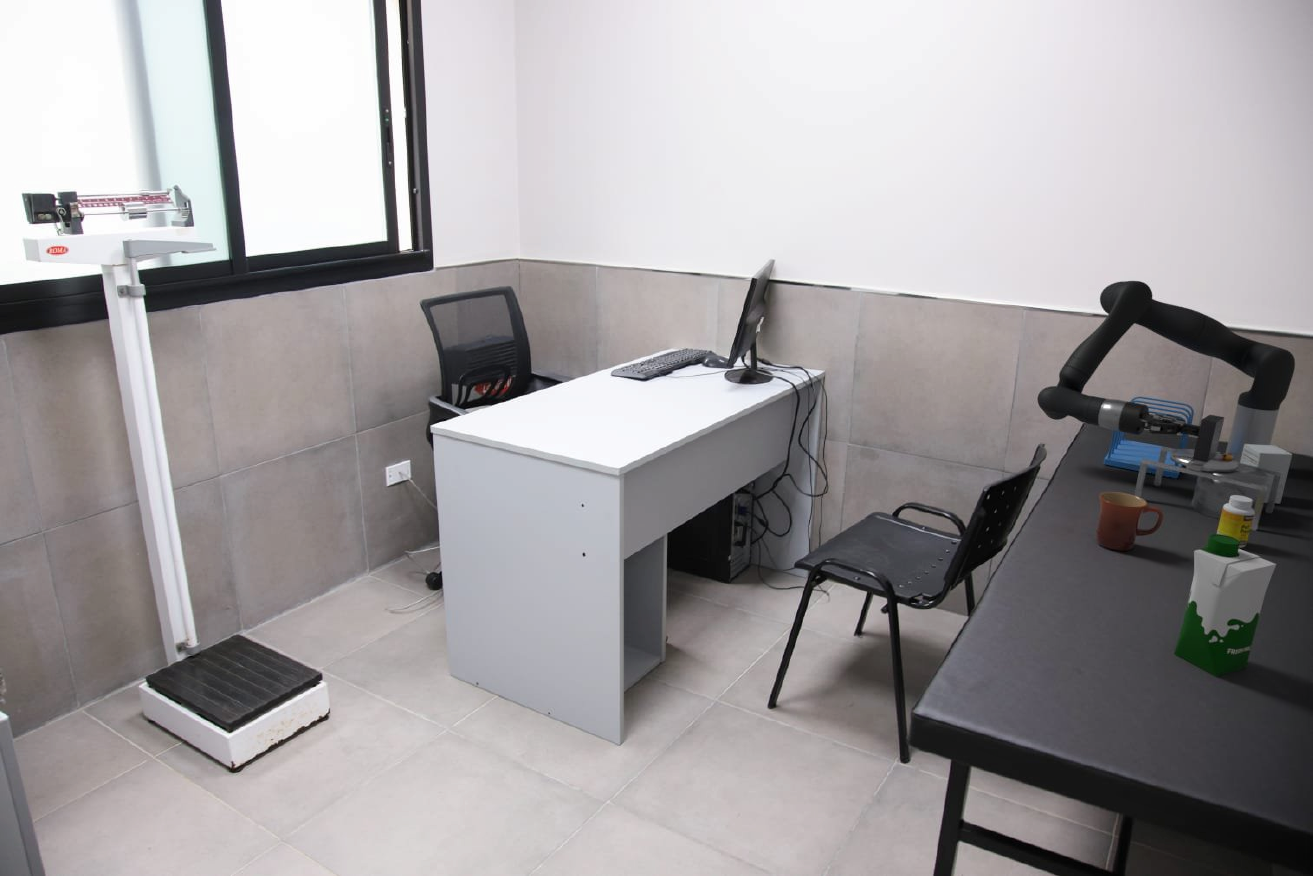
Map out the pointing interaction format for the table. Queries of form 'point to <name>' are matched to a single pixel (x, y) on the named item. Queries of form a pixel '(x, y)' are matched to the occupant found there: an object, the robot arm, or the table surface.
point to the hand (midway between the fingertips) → (1202, 431)
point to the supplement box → (1268, 464)
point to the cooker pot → (1220, 486)
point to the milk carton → (1223, 606)
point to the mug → (1122, 520)
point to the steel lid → (1206, 449)
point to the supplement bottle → (1237, 519)
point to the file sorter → (1134, 452)
